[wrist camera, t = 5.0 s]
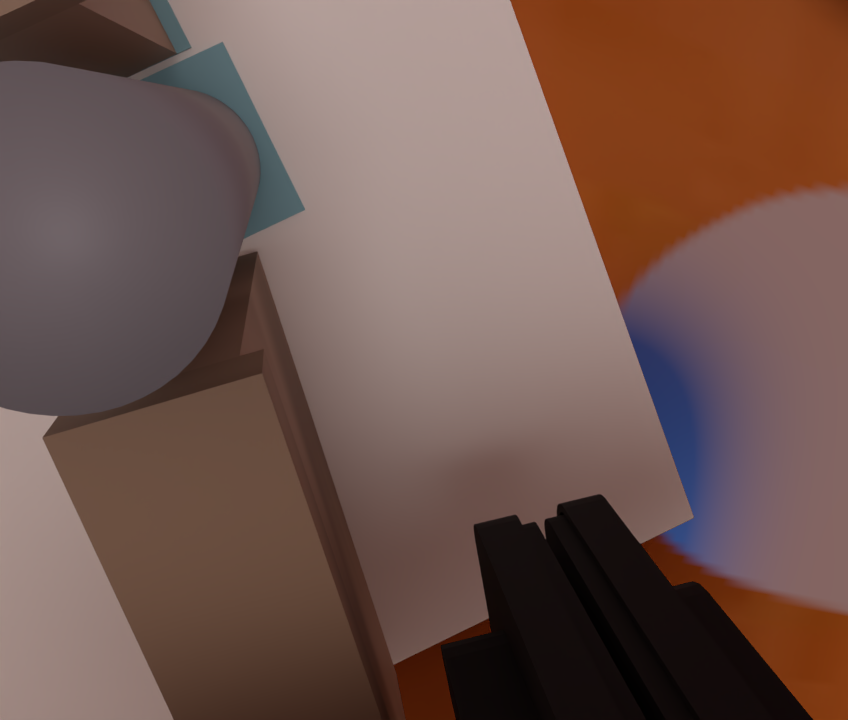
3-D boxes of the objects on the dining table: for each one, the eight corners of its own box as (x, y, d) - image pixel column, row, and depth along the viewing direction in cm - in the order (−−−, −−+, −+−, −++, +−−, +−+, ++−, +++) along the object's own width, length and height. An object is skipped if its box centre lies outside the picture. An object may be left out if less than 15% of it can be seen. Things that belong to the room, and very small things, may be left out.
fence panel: (156, 279, 11) (42, 439, 6) (271, 247, 11) (262, 372, 6) (316, 699, 13) (338, 1071, 8) (407, 668, 13) (484, 1016, 8)
